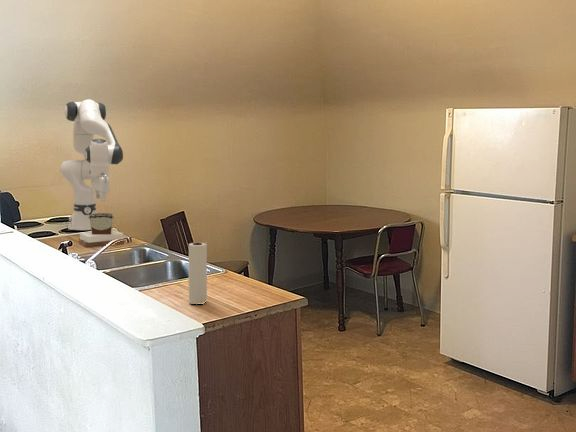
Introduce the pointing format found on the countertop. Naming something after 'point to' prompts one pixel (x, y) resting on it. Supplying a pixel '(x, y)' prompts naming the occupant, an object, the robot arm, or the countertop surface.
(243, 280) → the countertop surface
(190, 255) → the paper towel roll
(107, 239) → the tower top
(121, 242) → the tower bottom
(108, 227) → the food container
